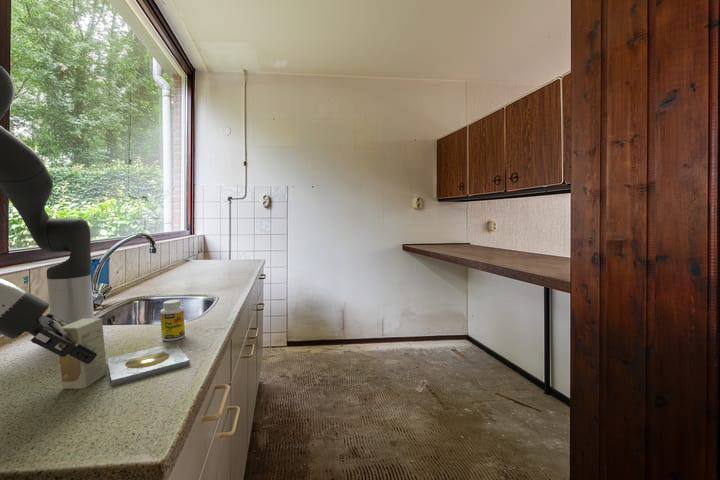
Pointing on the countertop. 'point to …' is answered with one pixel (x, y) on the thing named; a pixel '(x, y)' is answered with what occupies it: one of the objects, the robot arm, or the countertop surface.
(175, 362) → the grey square plate
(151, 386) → the countertop surface
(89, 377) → the skincare box
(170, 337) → the supplement bottle
